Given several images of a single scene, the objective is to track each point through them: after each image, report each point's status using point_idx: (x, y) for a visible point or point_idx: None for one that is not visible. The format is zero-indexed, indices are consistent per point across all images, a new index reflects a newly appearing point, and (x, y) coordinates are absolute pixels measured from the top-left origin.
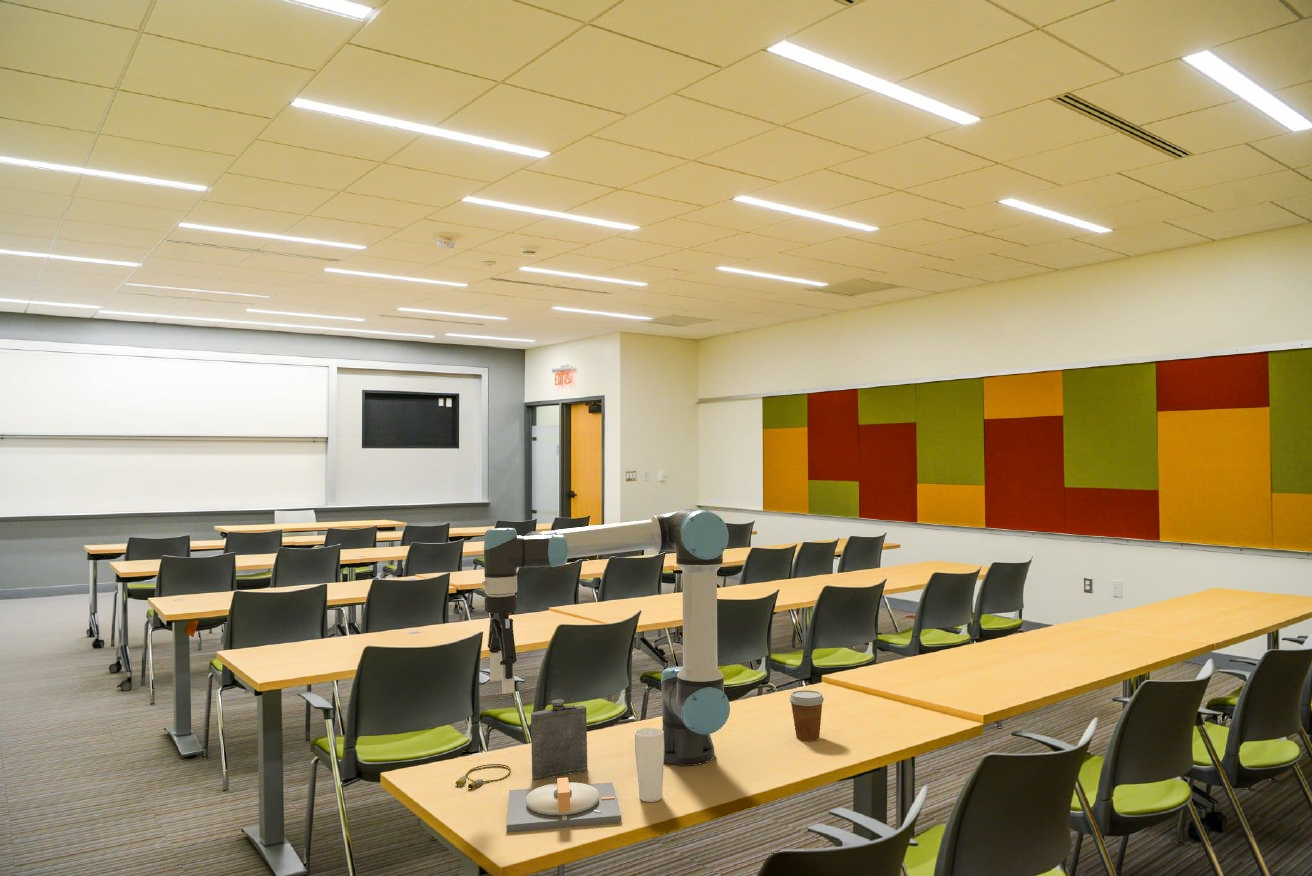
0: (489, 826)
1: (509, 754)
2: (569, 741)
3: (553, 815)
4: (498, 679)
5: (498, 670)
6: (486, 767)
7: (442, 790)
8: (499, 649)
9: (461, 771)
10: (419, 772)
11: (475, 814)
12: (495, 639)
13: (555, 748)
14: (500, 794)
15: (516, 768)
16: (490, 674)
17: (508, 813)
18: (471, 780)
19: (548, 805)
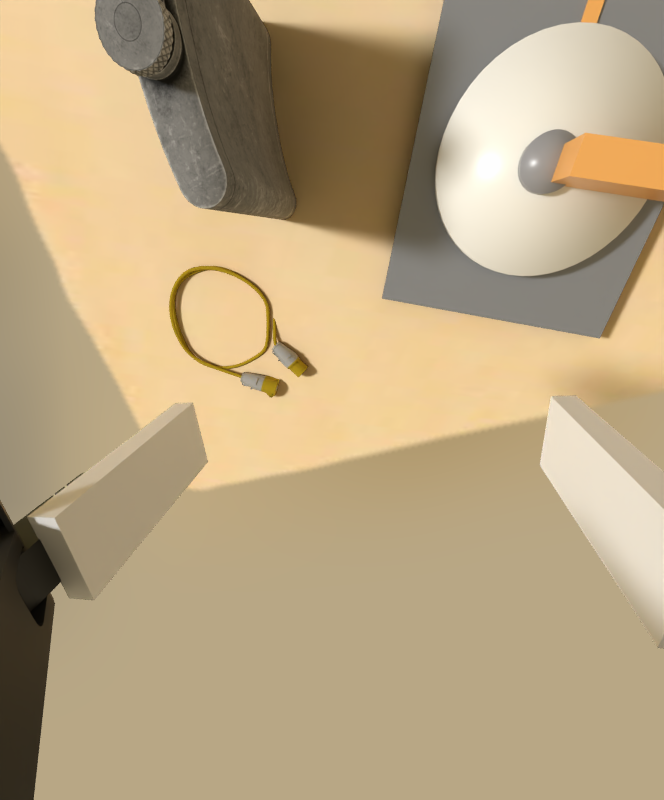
0: (533, 363)
1: (89, 250)
2: (236, 50)
3: None
4: (196, 424)
5: (164, 451)
6: (176, 319)
7: (289, 420)
8: (14, 551)
9: (188, 373)
10: None
11: (450, 379)
12: (12, 780)
13: (254, 124)
14: (357, 313)
15: (194, 248)
16: (185, 483)
17: (532, 323)
18: (250, 361)
19: (597, 223)
